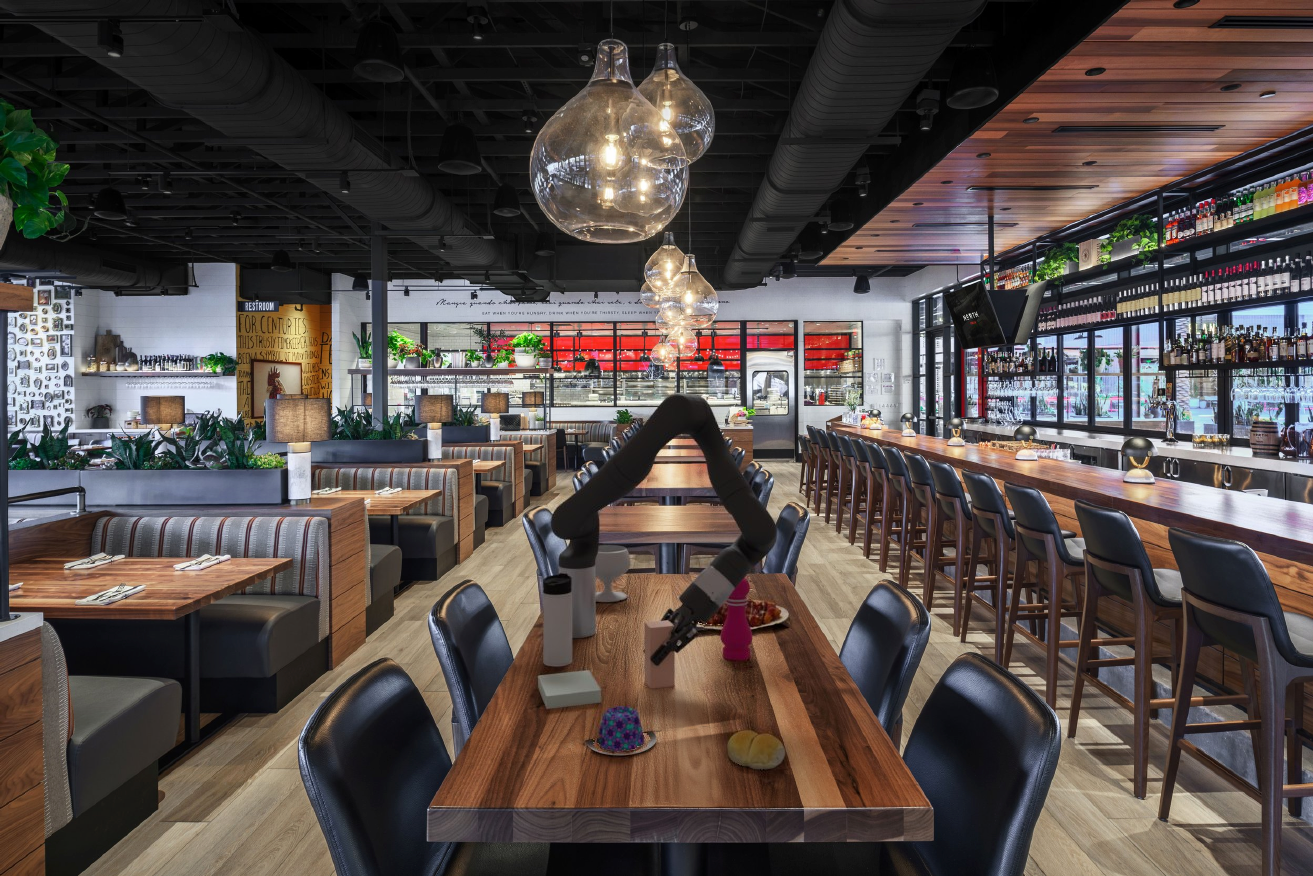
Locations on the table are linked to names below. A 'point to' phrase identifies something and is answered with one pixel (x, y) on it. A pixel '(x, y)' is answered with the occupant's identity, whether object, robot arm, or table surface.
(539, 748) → the table surface
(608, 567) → the chalice
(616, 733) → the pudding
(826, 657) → the table surface
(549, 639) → the travel mug
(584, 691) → the ticket board
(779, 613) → the plate of glazed chicken
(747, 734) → the bread roll
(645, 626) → the stub
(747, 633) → the pepper mill
